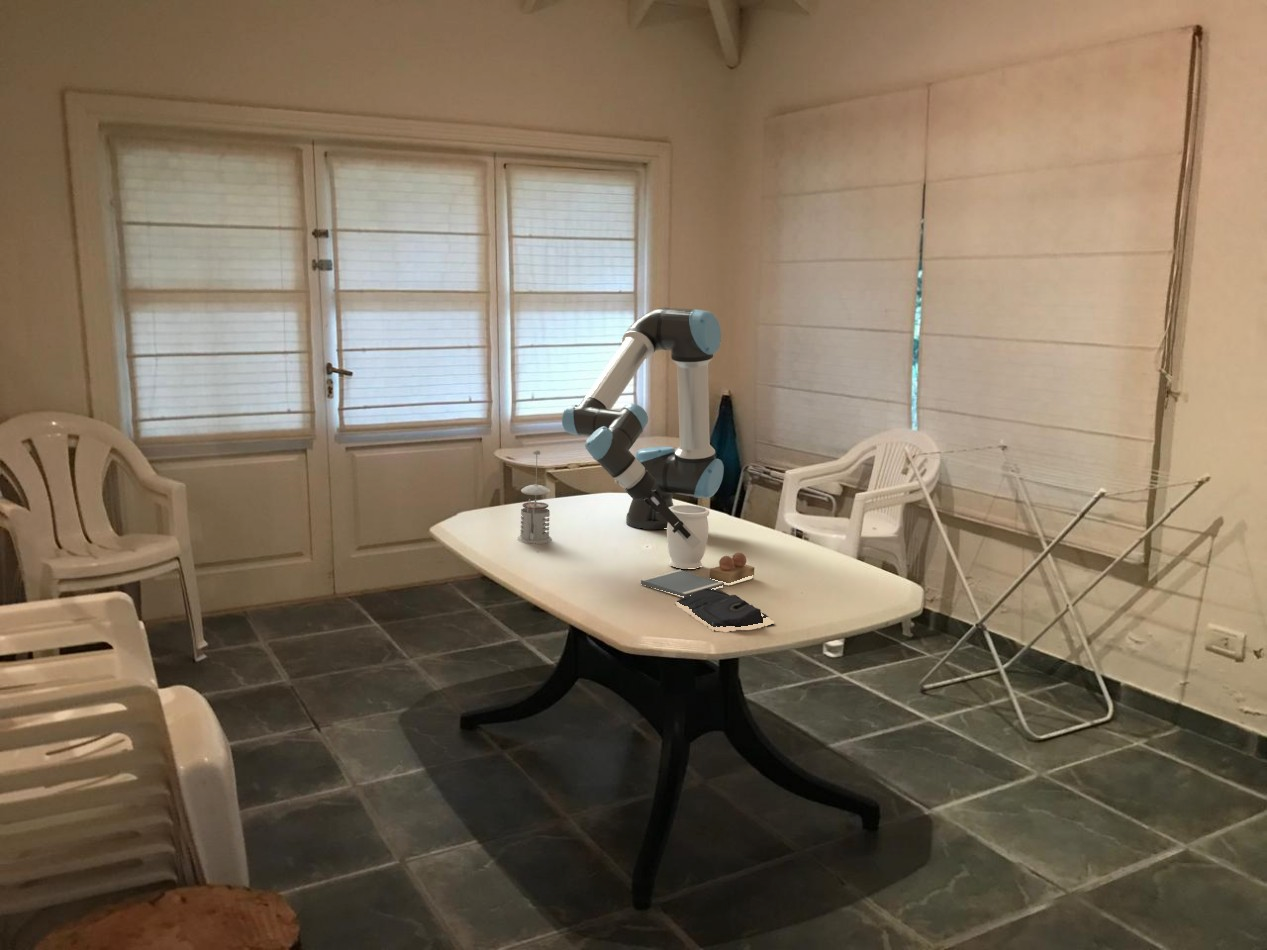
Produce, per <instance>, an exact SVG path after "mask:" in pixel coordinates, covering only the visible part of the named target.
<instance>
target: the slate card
mask: <svg viewBox="0 0 1267 950" xmlns="http://www.w3.org/2000/svg"><path fill="white" fill-rule="evenodd" d="M641 584H642V585H641ZM640 585H641V586H643V585H646V586H649V587H652V588H656V589H659V590H663V591H666V592H670V593H673V594H677V595H680V596H684V597H687V596H690V595H692V594H693V593H696V592H698V591H701V590H703V589H707V588H708V589H712V588H716V587H719V586H722V585H724V583H723V582H718V581H715V580H712V579H710V578H707V577H704V576H702V575H698V574H695V573H692V572H688V571H686V570H681V569H676V570H672V571H669V572H665V573H664V572H663V573H661V574H658V575H653V576H649V577H647V578H646V577H645V578H641V580H640ZM646 586H645V587H646ZM724 586H725V585H724ZM649 587H648V588H649ZM652 588H651V589H652Z"/></svg>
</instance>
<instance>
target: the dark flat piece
mask: <svg viewBox="0 0 1267 950" xmlns="http://www.w3.org/2000/svg"><path fill="white" fill-rule="evenodd" d="M676 601H677V602H679V603H680V604H682V605H684V606H688V607H689V609H692V612H693V613H695V615H697V616H698V617H700V618H701V619H702V620H704V621H706V622H707V623H708V624H710V625H711V626H713V627H716V626H717V627H720V626H723V627H726V626H735V627H741V626H748V625H753V624H758V623H763V618H766V617H769V616H768V615H767V614H766V613H763V612H762V611H761V609H760V608H758V607H755V606H754V605H753V604H750V602H747V601H746V600H744V599H743V598H741V597H739V596H738V595H736V594H731V595H730V594H728V593H727V592H725V591H722V589H718V590H714V589H712V590H711V589H708V588H707V589H703V590H701V591H698V592H696V593H693V594H692V595H691V596H687V597H684V598H680V599H678V600H676ZM761 613H762V614H763V615H764V616H763V617H762V616H761Z"/></svg>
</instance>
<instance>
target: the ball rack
mask: <svg viewBox="0 0 1267 950" xmlns="http://www.w3.org/2000/svg"><path fill="white" fill-rule="evenodd" d="M718 565H719V566H716V567H712V568H710V569H709V579H710V578H711V579H715V580H718V581H723V582H726V583H731V582H734V581H737V580H740V579H742V578H745V577H748V576H752V575H754V576H755V566H752V565H748V564H747V556H746V555H745V554H744V553H742V552H736V553H734V554H733V555H732V556H729V555H724V556H722V557H721V558H720V559H719V561H718Z"/></svg>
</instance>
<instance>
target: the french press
mask: <svg viewBox="0 0 1267 950" xmlns="http://www.w3.org/2000/svg"><path fill="white" fill-rule="evenodd" d="M533 455H536V457H535V458H536V459H535V461H536V462H535V484H530V485H527V486H524V487H523V488H521V490H520V491H521V493H522V494H523V495H524V494H525V495H529V496H530V495H531V496H535V499H534V501H531V498H529V499H528V501H527V502H524V503H523V504H522V507H523V508H521V510H520V519H521V520H520V524H521V525H520V535H518V536H517V538H518V540H519V541H518V540H517V541H518V542H520V541H522V542H521V543H523V542H526V543H525V544H530V543H536V544H537V545H538V544H540V545H542V544H547V543H550V542H552V541H553V538H552V537H551V536H550V515H551V514H550V513H551V511H550V509H548V507H549V504H548V503H546V502H542V501H539V502H538V501H537V496H541V495H542V496H543V495H548V494H550V493H551V489H549V487H546V486H545V485H542V484H538V483H537V481H538V477H537V476H538V455H541V451H540V450H539V449H535V450H533ZM546 517H547V518H546ZM536 544H535V545H536Z"/></svg>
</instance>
